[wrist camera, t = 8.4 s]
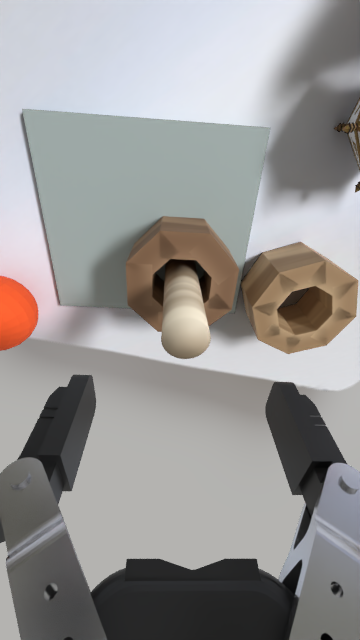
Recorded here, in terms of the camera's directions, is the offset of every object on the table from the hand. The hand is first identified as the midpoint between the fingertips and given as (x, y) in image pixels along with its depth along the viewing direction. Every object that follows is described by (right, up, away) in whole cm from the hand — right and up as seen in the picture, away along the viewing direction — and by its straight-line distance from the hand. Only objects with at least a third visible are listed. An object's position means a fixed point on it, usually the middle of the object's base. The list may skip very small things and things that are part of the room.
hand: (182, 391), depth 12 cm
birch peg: (0, +8, +14) cm, 16 cm away
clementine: (-17, +5, +16) cm, 24 cm away
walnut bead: (0, +8, +14) cm, 16 cm away
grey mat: (-3, +11, +12) cm, 17 cm away
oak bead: (+11, +7, +16) cm, 20 cm away
